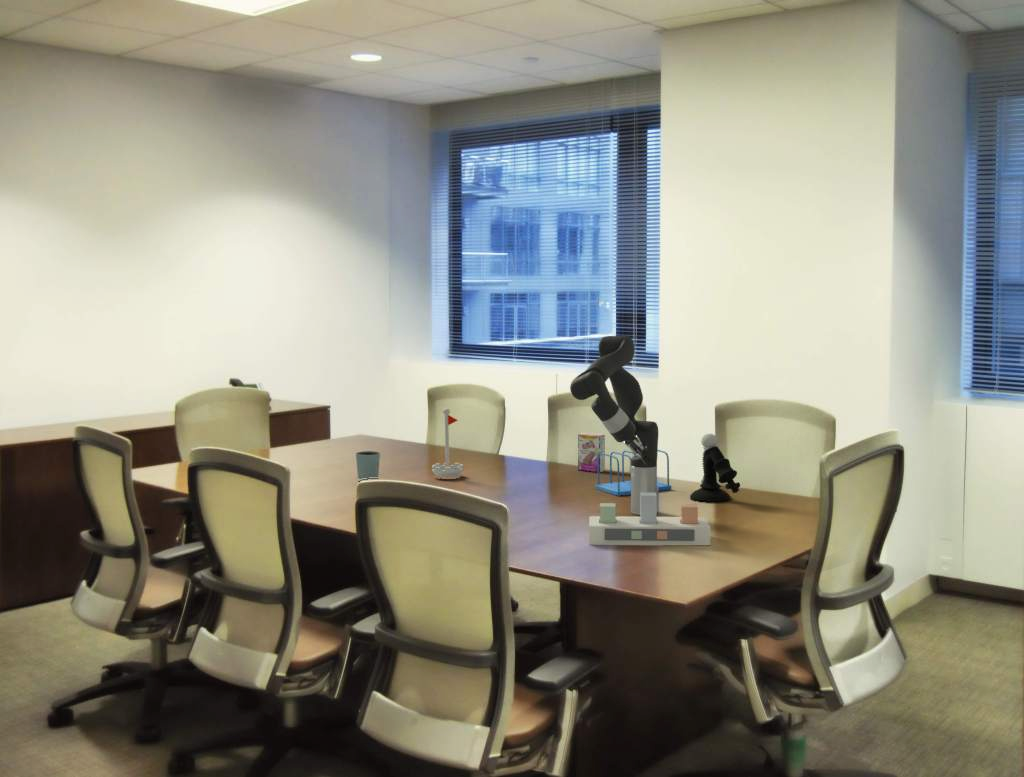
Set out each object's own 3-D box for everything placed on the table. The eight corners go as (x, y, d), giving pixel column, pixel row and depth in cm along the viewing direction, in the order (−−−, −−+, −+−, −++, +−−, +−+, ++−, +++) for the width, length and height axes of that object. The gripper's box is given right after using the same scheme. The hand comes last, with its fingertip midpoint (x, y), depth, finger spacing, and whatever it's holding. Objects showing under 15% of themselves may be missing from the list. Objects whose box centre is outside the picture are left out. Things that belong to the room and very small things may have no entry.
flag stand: (427, 479, 441) (426, 409, 438) (438, 474, 454) (437, 405, 451) (456, 480, 438) (455, 410, 435) (467, 475, 450) (465, 406, 447)
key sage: (600, 537, 333) (599, 506, 332) (600, 533, 338) (600, 503, 337) (615, 537, 333) (615, 506, 332) (615, 533, 338) (615, 503, 337)
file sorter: (648, 483, 428) (648, 446, 427) (671, 490, 413) (672, 452, 411) (595, 489, 418) (595, 451, 416) (617, 496, 402) (617, 457, 400)
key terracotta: (681, 537, 331) (681, 507, 330) (680, 534, 336) (680, 503, 335) (697, 538, 331) (697, 507, 330) (696, 534, 336) (696, 503, 334)
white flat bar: (588, 545, 329) (588, 526, 328) (589, 534, 343) (589, 516, 343) (710, 546, 325) (710, 527, 325) (705, 535, 340) (706, 517, 339)
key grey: (640, 526, 332) (640, 495, 331) (640, 522, 337) (640, 492, 336) (656, 526, 331) (656, 495, 330) (655, 522, 336) (655, 492, 335)
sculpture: (714, 493, 406) (714, 430, 403) (753, 504, 385) (754, 437, 382) (682, 497, 399) (682, 433, 396) (720, 509, 378) (721, 441, 375)
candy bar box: (577, 470, 457) (577, 433, 455) (582, 469, 461) (582, 432, 460) (600, 473, 451) (600, 435, 449) (605, 471, 455) (605, 434, 454)
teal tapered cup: (353, 479, 443) (352, 452, 441) (376, 477, 447) (375, 450, 446) (360, 483, 434) (359, 455, 432) (383, 481, 438) (383, 453, 437)
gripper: (635, 420, 316) (667, 459, 322) (617, 411, 328) (648, 449, 334) (618, 436, 315) (650, 476, 321) (600, 427, 327) (631, 465, 333)
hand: (649, 462), depth 327 cm, fingers closed
